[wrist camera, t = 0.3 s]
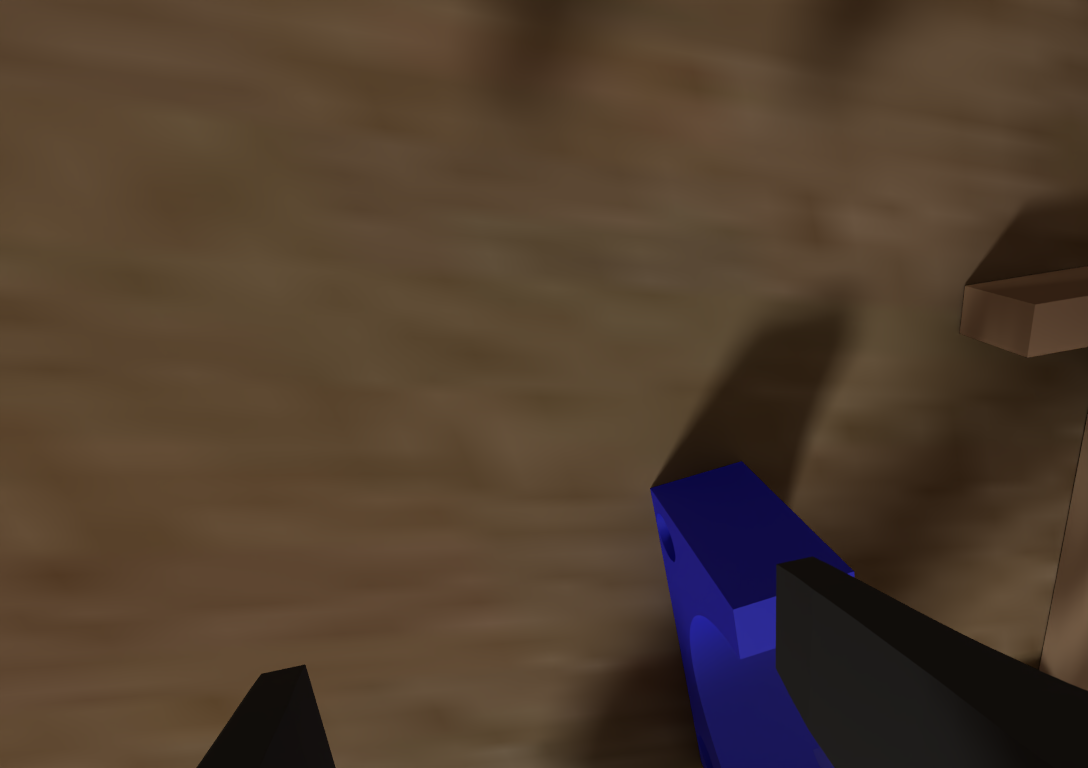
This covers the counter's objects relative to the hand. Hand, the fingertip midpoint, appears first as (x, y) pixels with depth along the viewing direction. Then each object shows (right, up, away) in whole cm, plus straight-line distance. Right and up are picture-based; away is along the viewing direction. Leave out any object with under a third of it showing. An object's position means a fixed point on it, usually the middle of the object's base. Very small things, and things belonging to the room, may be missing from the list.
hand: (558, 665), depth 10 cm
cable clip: (+6, -4, +13) cm, 15 cm away
